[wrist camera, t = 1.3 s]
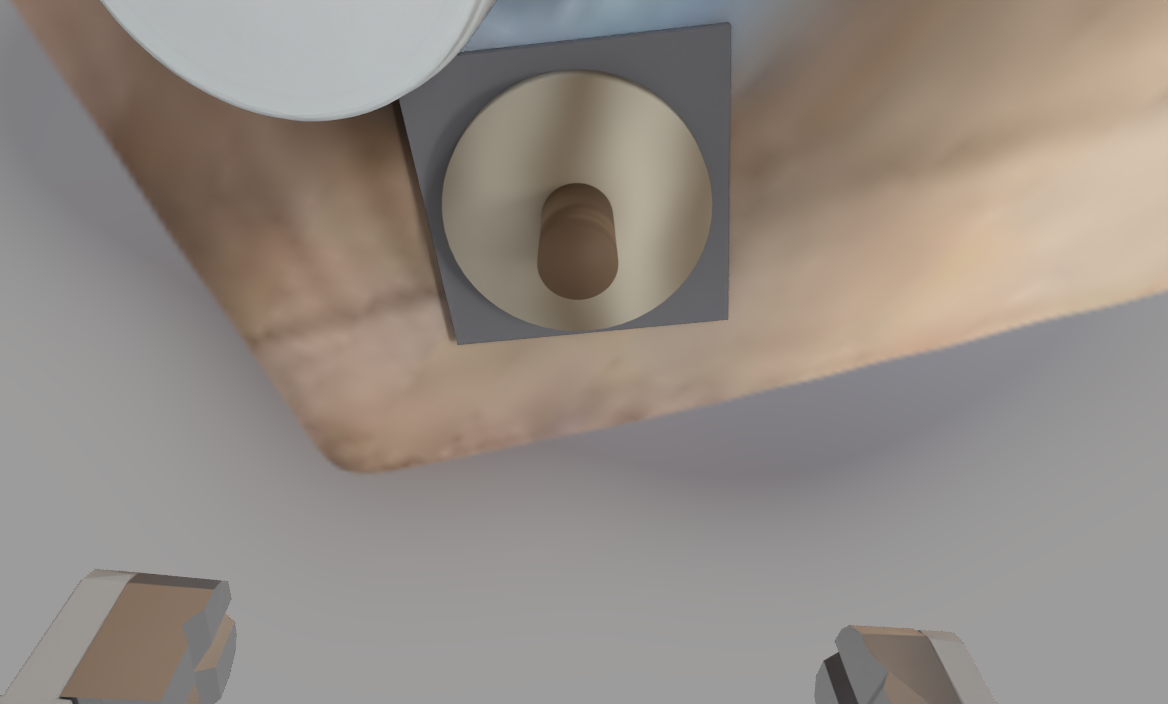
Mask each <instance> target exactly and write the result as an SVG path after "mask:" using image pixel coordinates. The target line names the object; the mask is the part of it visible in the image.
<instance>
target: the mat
mask: <svg viewBox="0 0 1168 704" xmlns="http://www.w3.org/2000/svg"><path fill="white" fill-rule="evenodd" d="M572 69H585V70H595V71H602V72H606V73H610V74H615V75H618V76H621V77H624V78H626V79H629V80H631V81H634V82H636V83H638V84H640V85H641V86H643V87H645V88H647V89H649V90H650V91H652V92H653V93H654V94H656V95H657V96H658V97H660V98H661V99H662V100H664V101H665V102H666V103H667V104H668V105H669V106H670V107H671V108H672V109H673V110H674V111H675V112H676V113H677V114H678V115H679V116H680V118H681V119H682V120H683V122H684V123H685V124H686V126H687V127H688V128H689V130H690V132H691V134H692V136H693V138H694V139H695V141H696V143H697V145H698V148H699V150H700V152H701V154H702V157H703V160H704V162H705V165H706V168H707V170H708V175H709V180H710V184H711V192H712V217H711V224H710V229H709V234H708V238H707V241H706V243H705V246H704V249H703V252H702V254H701V256H700V258H699V260H698V262H697V264H696V266H695V267H694V269H693V270H692V272H691V273H690V274H689V276H688V277H687V279H686V280H685V281H684V282H683V283H682V285H681V286H680V287H679V288H678V289H677V290H676V291H675V292H674V293H673V294H672V295H671V296H670V297H669V298H667V299H666V300H665V301H664V302H663V303H661V304H660V305H658V306H657V307H655V308H654V309H653V310H651V311H649V312H647V313H646V314H644V315H642V316H640V317H638V318H636V319H633V320H631V321H628V322H626V323H623V324H620V325H616V326H613V327H609V328H604V329H598V330H591V331H566V330H556V329H551V328H545V327H541V326H538V325H535V324H531V323H528V322H526V321H523V320H521V319H519V318H516V317H514V316H512V315H510V314H509V313H507V312H505V311H503V310H502V309H500V308H499V307H497V306H496V305H495V304H493V303H492V302H491V301H489V300H488V299H487V298H485V297H484V296H483V295H482V294H481V293H480V292H479V291H478V290H477V289H476V288H475V287H474V286H473V284H472V283H471V282H470V281H469V280H468V278H467V277H466V276H465V275H464V273H463V271H462V270H461V268H460V267H459V265H458V263H457V262H456V260H455V258H454V255H453V253H452V251H451V249H450V246H449V243H448V240H447V237H446V233H445V229H444V223H443V216H442V193H443V185H444V179H445V175H446V172H447V168H448V165H449V162H450V160H451V157H452V155H453V153H454V150H455V148H456V146H457V143H458V141H459V139H460V137H461V135H462V134H463V132H464V130H465V129H466V127H467V126H468V124H469V123H470V121H471V120H472V119H473V118H474V117H475V115H476V114H477V113H478V112H479V111H480V109H481V108H483V107H484V106H485V105H486V104H487V103H488V102H489V101H490V100H491V99H493V98H494V97H495V96H497V95H498V94H500V93H501V92H503V91H504V90H505V89H507V88H508V87H510V86H512V85H514V84H516V83H519V82H521V81H523V80H525V79H527V78H530V77H533V76H536V75H539V74H543V73H547V72H553V71H559V70H572ZM730 90H731V24H730V23H729V22H728V23H719V24H710V25H701V26H692V27H683V28H674V29H665V30H656V31H647V32H638V33H629V34H621V35H612V36H603V37H594V38H585V39H576V40H567V41H558V42H549V43H540V44H531V45H523V46H514V47H505V48H496V49H487V50H478V51H469V52H460V53H458V54H457V55H456V56H455V57H454V58H453V59H452V61H451V62H450V63H449V64H448V65H446V66H445V67H444V68H443V69H442V70H441V71H440V72H439V73H437V74H436V75H435V76H433V77H432V78H430V79H429V80H428V81H426V82H425V83H424V84H422V85H421V86H419V87H418V88H416V89H414V90H413V91H411V92H409V93H407V94H406V95H404V96H402V97H400V98H399V102H400V106H401V110H402V114H403V118H404V123H405V127H406V131H407V135H408V139H409V143H410V148H411V152H412V156H413V160H414V164H415V168H416V173H417V177H418V181H419V185H420V189H421V194H422V198H423V202H424V206H425V210H426V214H427V219H428V223H429V227H430V231H431V235H432V239H433V244H434V248H435V252H436V256H437V260H438V265H439V269H440V273H441V277H442V281H443V285H444V290H445V294H446V298H447V302H448V306H449V310H450V315H451V319H452V323H453V327H454V331H455V336H456V340H457V344H458V345H463V344H473V343H484V342H495V341H505V340H516V339H527V338H537V337H548V336H559V335H569V334H580V333H591V332H601V331H612V330H623V329H633V328H644V327H654V326H665V325H676V324H686V323H697V322H708V321H718V320H728V277H729V183H730Z"/></svg>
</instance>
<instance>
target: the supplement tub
mask: <svg viewBox="0 0 1168 704" xmlns="http://www.w3.org/2000/svg"><path fill="white" fill-rule="evenodd" d="M100 1H101V2H102V3H103V5H104V6H105V7H106V9H107V10H108V11H109V12H110V14H111V15H112V16H113V17H114V19H115V20H116V21H117V22H118V23H119V24H120V25H121V27H122V28H123V29H124V30H125V31H126V32H127V33H128V34H129V35H130V36H131V37H132V38H133V39H134V40H135V41H136V42H137V43H138V44H139V45H141V46H142V47H143V48H144V49H145V50H146V51H147V52H148V53H149V54H150V55H152V56H153V57H154V58H155V59H156V60H158V61H159V62H160V63H161V64H163V65H164V66H165V67H167V68H168V69H169V70H170V71H172V72H173V73H174V74H176V75H177V76H179V77H181V78H182V79H184V80H185V81H187V82H188V83H190V84H191V85H193V86H195V87H196V88H198V89H200V90H202V91H204V92H205V93H207V94H209V95H211V96H213V97H216V98H218V99H220V100H222V101H224V102H226V103H228V104H231V105H234V106H236V107H239V108H241V109H244V110H247V111H250V112H254V113H257V114H261V115H264V116H270V117H276V118H282V119H288V120H296V121H331V120H337V119H343V118H349V117H354V116H358V115H361V114H365V113H368V112H371V111H374V110H376V109H378V108H381V107H383V106H386V105H388V104H390V103H391V102H393V101H395V100H397V99H398V98H400V97H402V96H404V95H406V94H407V93H409V92H411V91H413V90H414V89H416V88H418V87H419V86H421V85H422V84H424V83H425V82H426V81H428V80H429V79H430V78H432V77H433V76H435V75H436V74H437V73H439V72H440V71H441V70H442V69H443V68H444V67H445V66H446V65H448V64H449V63H450V62H451V61H452V59H453V58H454V57H455V56H456V55H457V54H458V53H459V52H460V50H461V49H462V48H463V47H464V46H465V44H466V43H467V42H468V40H469V39H470V38H471V36H472V35H473V34H474V32H475V31H476V30H477V28H478V27H479V26H480V24H481V23H482V21H483V20H484V18H485V17H486V15H487V14H488V12H489V11H490V10H491V8H492V7H493V5H494V4H495V2H496V1H497V0H100Z"/></svg>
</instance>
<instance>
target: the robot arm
mask: <svg viewBox="0 0 1168 704" xmlns="http://www.w3.org/2000/svg"><path fill="white" fill-rule="evenodd" d="M230 601H231V594H230V589H229V584H228V581H221V580H210V579H200V578H188V577H179V576H168V575H157V574H147V573H137V572H126V571H113V570H100V569H94V570H93V571H92V572H90V573H89V574H88V575H87V576H86V577H84V578H83V579H82V580H81V581H80V582H79V584H78V585H77V587H76V588H75V589H74V591H73V592H72V594H71V596H70V597H69V598H68V600H67V601H66V603H65V604H64V606H63V607H62V609H61V610H60V612H59V613H58V615H57V616H56V618H55V619H54V621H53V622H52V624H51V625H50V627H49V628H48V630H47V631H46V633H45V634H44V636H43V637H42V639H41V640H40V641H39V643H38V645H37V646H36V647H35V649H34V650H33V652H32V653H31V655H30V656H29V658H28V659H27V661H26V662H25V664H24V665H23V667H22V668H21V670H20V671H19V673H18V674H17V676H16V677H15V679H14V680H13V682H12V683H11V684H10V686H9V687H8V689H7V690H6V692H5V693H4V695H0V704H214V703H216V702H217V701H218V700H219V699H221V697H222V693H223V691H224V689H225V686H226V684H227V681H228V678H229V675H230V672H231V668H232V663H233V659H234V655H235V649H236V627H235V621H234V620H233V619H231V618H230V617H229V616H228V615H227V614H226V613H225V612H226V610H227V608H228V605H229V603H230ZM835 643H836V646H837V648H838V651H839V652H838V653H836V654H834V655H833V656H831V657H829V658H827V659H826V660H824V661H823V663H822V665H821V667H820V669H819V671H818V673H817V675H816V684H815V702H816V704H997V702H996V700H995V698H994V696H993V695H992V693H991V691H990V689H989V687H988V686H987V684H986V682H985V680H984V678H983V676H982V675H981V673H980V671H979V669H978V667H977V666H976V664H975V662H974V660H973V658H972V657H971V655H970V654H969V651H968V649H967V647H966V646H965V644H964V642H963V641H962V640H961V639H960V638H959V637H958V636H957V635H956V634H955V633H951V632H942V631H924V630H915V629H909V628H893V627H873V626H857V625H849V626H847V627H845V628H843V629H841V631H840V633H839V635H838V636H837V638H836V640H835Z"/></svg>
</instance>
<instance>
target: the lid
mask: <svg viewBox="0 0 1168 704" xmlns="http://www.w3.org/2000/svg"><path fill="white" fill-rule="evenodd" d="M442 216H443V223H444V229H445V233H446V237H447V240H448V243H449V246H450V249H451V251H452V253H453V255H454V258H455V260H456V262H457V263H458V265H459V267H460V268H461V270H462V271H463V273H464V275H465V276H466V277H467V278H468V280H469V281H470V282H471V283H472V284H473V286H474V287H475V288H476V289H477V290H478V291H479V292H480V293H481V294H482V295H483V296H484V297H485V298H487V299H488V300H489V301H491V302H492V303H493V304H495V305H496V306H497V307H499V308H500V309H502V310H503V311H505V312H507V313H509V314H510V315H512V316H514V317H516V318H519V319H521V320H523V321H526V322H528V323H531V324H535V325H538V326H541V327H545V328H551V329H556V330H566V331H591V330H598V329H604V328H609V327H613V326H616V325H620V324H623V323H626V322H628V321H631V320H633V319H636V318H638V317H640V316H642V315H644V314H646V313H647V312H649V311H651V310H653V309H654V308H655V307H657V306H658V305H660V304H661V303H663V302H664V301H665V300H666V299H667V298H669V297H670V296H671V295H672V294H673V293H674V292H675V291H676V290H677V289H678V288H679V287H680V286H681V285H682V283H683V282H684V281H685V280H686V279H687V277H688V276H689V274H690V273H691V272H692V270H693V269H694V267H695V266H696V264H697V262H698V260H699V258H700V256H701V254H702V252H703V249H704V246H705V243H706V241H707V238H708V234H709V229H710V224H711V217H712V192H711V184H710V180H709V175H708V170H707V168H706V165H705V162H704V160H703V157H702V154H701V152H700V150H699V148H698V145H697V143H696V141H695V139H694V138H693V136H692V134H691V132H690V130H689V128H688V127H687V126H686V124H685V123H684V122H683V120H682V119H681V118H680V116H679V115H678V114H677V113H676V112H675V111H674V110H673V109H672V108H671V107H670V106H669V105H668V104H667V103H666V102H665V101H664V100H662V99H661V98H660V97H658V96H657V95H656V94H654V93H653V92H652V91H650V90H649V89H647V88H645V87H643V86H641V85H640V84H638V83H636V82H634V81H631V80H629V79H626V78H624V77H621V76H618V75H615V74H610V73H606V72H602V71H595V70H585V69H572V70H559V71H553V72H547V73H543V74H539V75H536V76H533V77H530V78H527V79H525V80H523V81H521V82H519V83H516V84H514V85H512V86H510V87H508V88H507V89H505V90H504V91H503V92H501V93H500V94H498V95H497V96H495V97H494V98H493V99H491V100H490V101H489V102H488V103H487V104H486V105H485V106H484V107H483V108H481V109H480V111H479V112H478V113H477V114H476V115H475V117H474V118H473V119H472V120H471V121H470V123H469V124H468V126H467V127H466V129H465V130H464V132H463V134H462V135H461V137H460V139H459V141H458V143H457V146H456V148H455V150H454V153H453V155H452V157H451V160H450V162H449V165H448V168H447V172H446V175H445V179H444V185H443V193H442Z"/></svg>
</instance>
